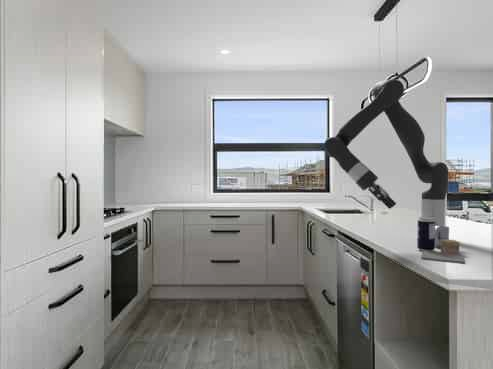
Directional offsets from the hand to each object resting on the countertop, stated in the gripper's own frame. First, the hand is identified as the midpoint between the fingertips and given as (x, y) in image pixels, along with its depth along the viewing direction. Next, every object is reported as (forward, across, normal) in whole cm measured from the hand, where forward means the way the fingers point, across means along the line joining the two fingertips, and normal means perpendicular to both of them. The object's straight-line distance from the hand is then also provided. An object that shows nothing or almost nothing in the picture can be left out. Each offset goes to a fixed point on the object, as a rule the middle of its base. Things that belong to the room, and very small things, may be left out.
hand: (393, 206), depth 134 cm
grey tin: (+23, +9, 0) cm, 24 cm away
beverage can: (+19, 0, +3) cm, 19 cm away
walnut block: (+24, -1, -2) cm, 25 cm away
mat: (+23, -10, 0) cm, 25 cm away
